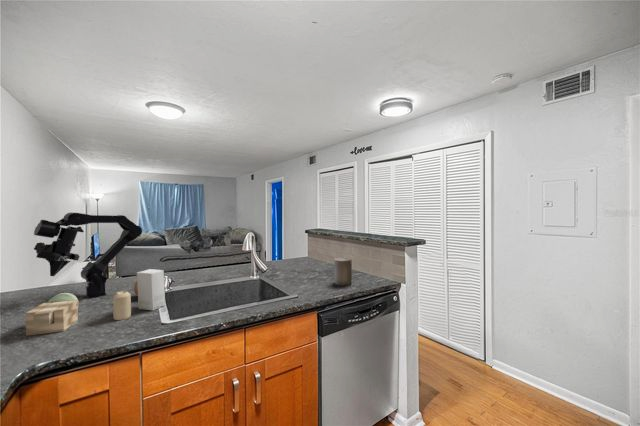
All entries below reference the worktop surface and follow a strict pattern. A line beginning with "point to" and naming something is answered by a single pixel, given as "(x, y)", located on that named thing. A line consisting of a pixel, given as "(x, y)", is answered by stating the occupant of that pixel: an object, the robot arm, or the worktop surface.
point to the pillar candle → (343, 271)
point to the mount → (62, 318)
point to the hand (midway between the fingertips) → (52, 276)
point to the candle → (122, 305)
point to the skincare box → (151, 289)
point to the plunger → (52, 309)
